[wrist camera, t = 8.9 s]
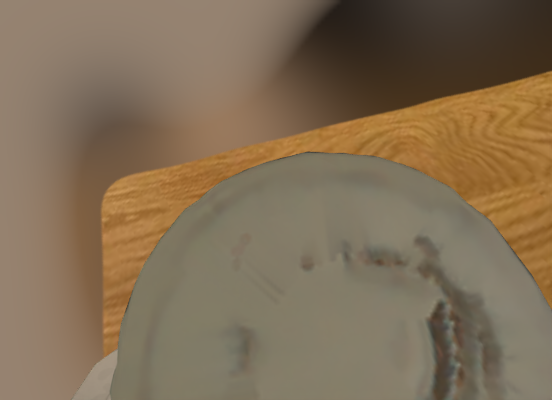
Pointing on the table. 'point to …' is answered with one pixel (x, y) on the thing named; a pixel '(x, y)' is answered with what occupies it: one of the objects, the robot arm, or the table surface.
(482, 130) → the table surface
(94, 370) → the robot arm
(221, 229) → the sauce bottle
